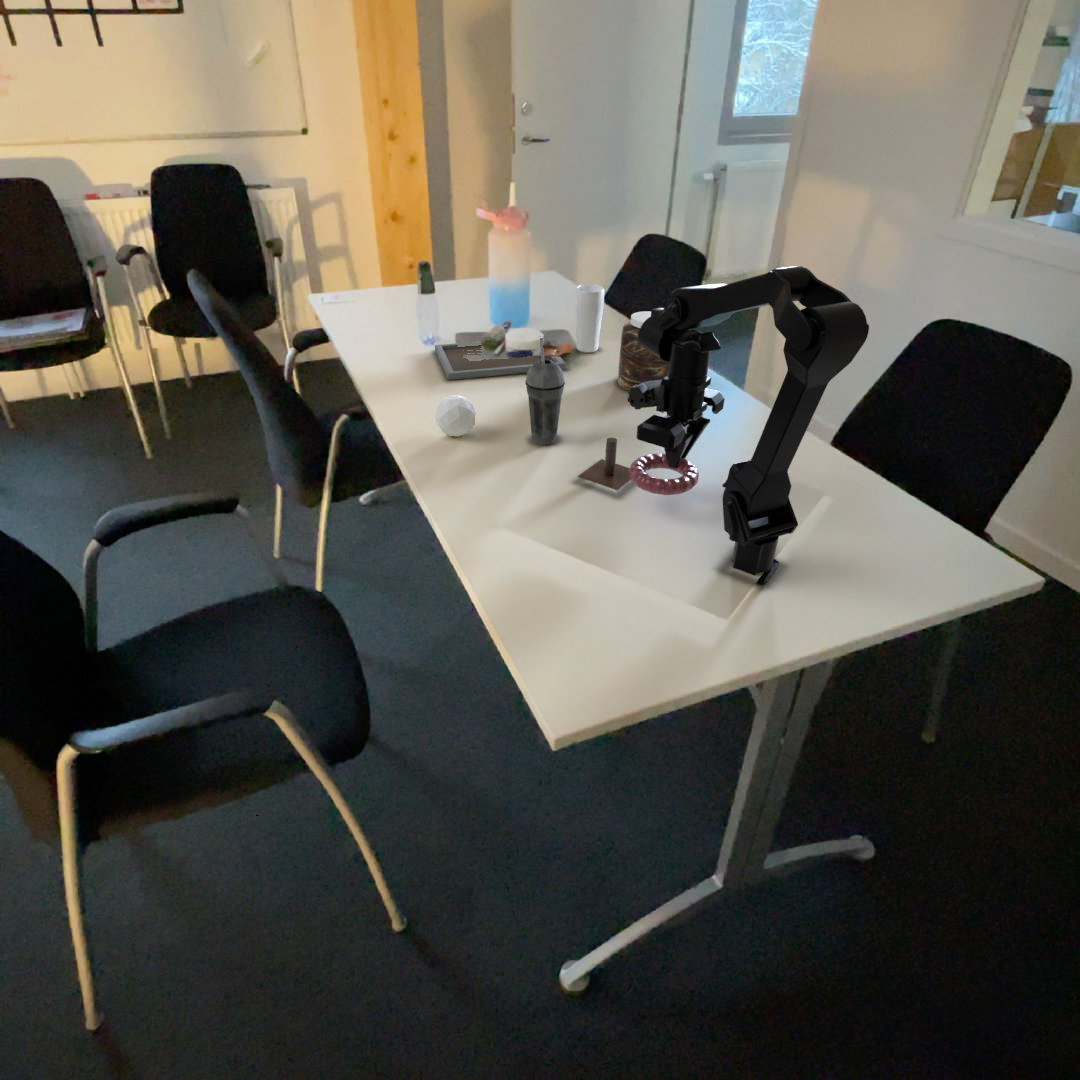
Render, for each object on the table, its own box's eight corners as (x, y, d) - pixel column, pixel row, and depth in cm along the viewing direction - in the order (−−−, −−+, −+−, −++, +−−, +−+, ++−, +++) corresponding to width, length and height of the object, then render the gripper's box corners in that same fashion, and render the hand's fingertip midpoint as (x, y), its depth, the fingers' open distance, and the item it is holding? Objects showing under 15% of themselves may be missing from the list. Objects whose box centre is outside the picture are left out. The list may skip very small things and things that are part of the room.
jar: (666, 374, 170) (673, 308, 162) (675, 394, 161) (683, 326, 152) (614, 374, 170) (619, 308, 162) (621, 394, 160) (626, 325, 152)
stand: (617, 496, 125) (620, 455, 120) (577, 482, 128) (579, 441, 124) (640, 477, 130) (644, 437, 126) (601, 464, 134) (603, 425, 130)
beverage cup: (570, 439, 142) (575, 336, 131) (545, 452, 138) (547, 346, 126) (543, 428, 146) (544, 327, 135) (517, 439, 142) (516, 336, 130)
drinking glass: (583, 343, 187) (586, 282, 179) (606, 349, 184) (610, 287, 176) (568, 350, 183) (570, 288, 174) (591, 356, 179) (594, 293, 171)
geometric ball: (464, 450, 144) (468, 430, 136) (426, 432, 143) (428, 412, 136) (480, 419, 147) (485, 398, 139) (443, 402, 146) (446, 380, 139)
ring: (678, 505, 111) (680, 491, 110) (616, 483, 117) (617, 470, 115) (708, 476, 119) (711, 463, 117) (649, 457, 124) (650, 444, 123)
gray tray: (434, 344, 180) (553, 335, 187) (434, 351, 181) (553, 341, 188) (447, 373, 165) (576, 362, 172) (448, 380, 166) (576, 368, 172)
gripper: (668, 343, 121) (658, 430, 130) (609, 378, 109) (603, 472, 117) (732, 358, 116) (717, 448, 125) (678, 396, 103) (666, 493, 112)
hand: (675, 464), depth 120 cm, fingers closed on ring, 2 cm apart
